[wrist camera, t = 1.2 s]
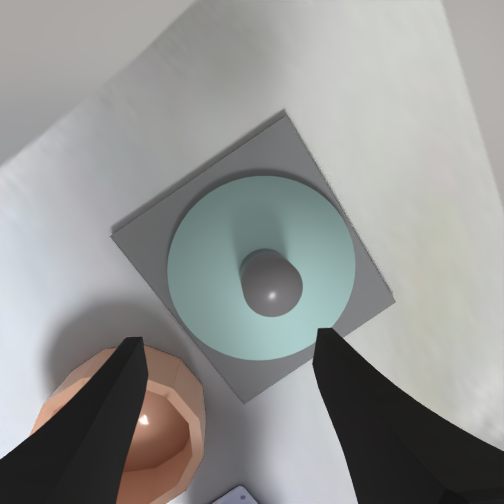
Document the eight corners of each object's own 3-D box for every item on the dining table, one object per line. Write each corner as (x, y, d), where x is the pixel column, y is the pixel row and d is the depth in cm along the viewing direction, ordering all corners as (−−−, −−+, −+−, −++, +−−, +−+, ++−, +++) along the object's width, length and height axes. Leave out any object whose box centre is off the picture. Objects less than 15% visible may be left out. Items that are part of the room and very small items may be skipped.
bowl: (231, 420, 27) (233, 458, 23) (121, 493, 27) (105, 544, 23) (147, 319, 24) (133, 342, 20) (28, 400, 24) (-9, 439, 20)
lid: (383, 291, 25) (418, 312, 21) (238, 388, 26) (242, 429, 21) (291, 136, 22) (309, 121, 18) (128, 248, 22) (105, 261, 18)
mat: (392, 300, 26) (395, 302, 26) (243, 400, 26) (243, 404, 26) (285, 116, 22) (286, 114, 22) (112, 235, 23) (109, 236, 22)
